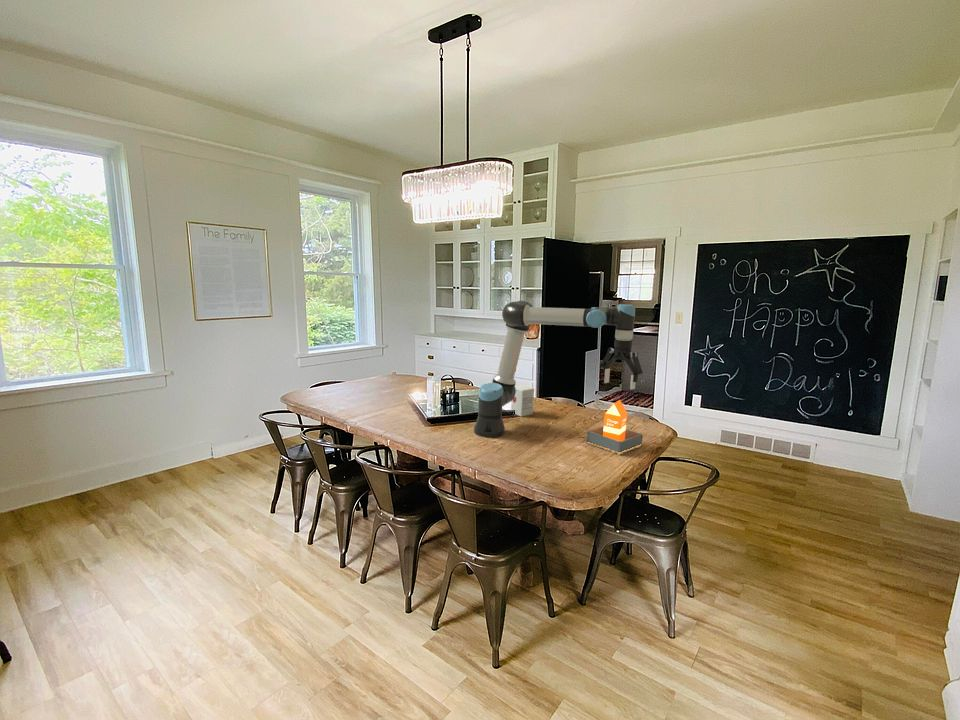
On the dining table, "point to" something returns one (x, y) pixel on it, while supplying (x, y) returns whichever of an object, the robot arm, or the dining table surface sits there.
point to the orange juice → (615, 422)
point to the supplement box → (523, 401)
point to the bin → (619, 446)
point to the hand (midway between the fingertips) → (619, 385)
